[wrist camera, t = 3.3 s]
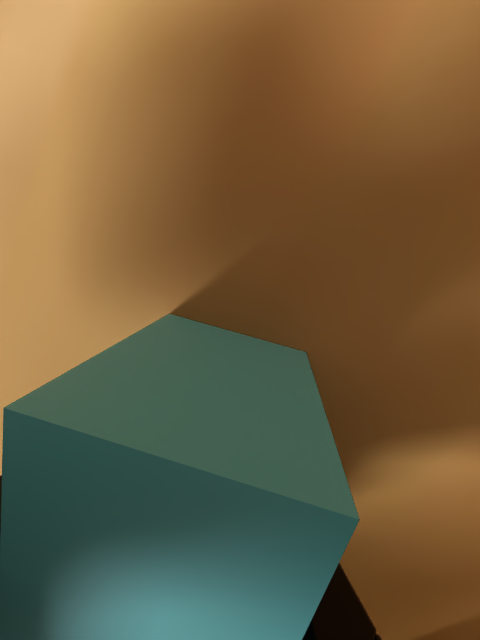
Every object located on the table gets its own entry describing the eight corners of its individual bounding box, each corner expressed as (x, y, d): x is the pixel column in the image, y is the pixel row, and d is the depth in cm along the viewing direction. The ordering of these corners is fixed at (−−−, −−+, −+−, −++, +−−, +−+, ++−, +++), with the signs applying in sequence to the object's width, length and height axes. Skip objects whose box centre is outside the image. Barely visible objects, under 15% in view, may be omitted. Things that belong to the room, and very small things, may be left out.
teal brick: (243, 534, 9) (210, 829, 5) (134, 499, 10) (-6, 745, 5) (306, 351, 8) (359, 519, 3) (170, 313, 8) (4, 408, 3)
